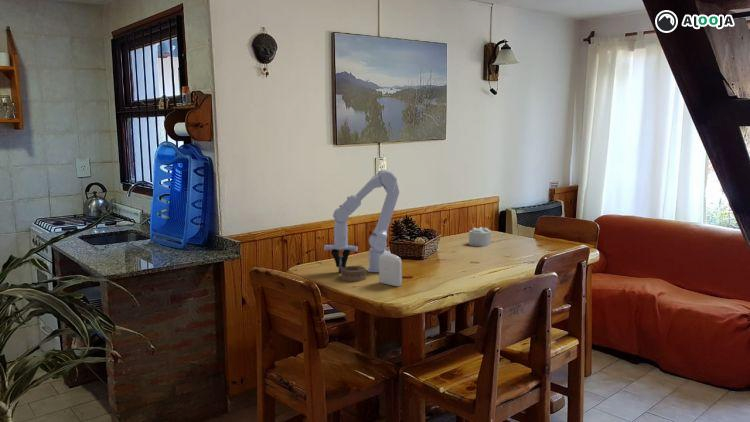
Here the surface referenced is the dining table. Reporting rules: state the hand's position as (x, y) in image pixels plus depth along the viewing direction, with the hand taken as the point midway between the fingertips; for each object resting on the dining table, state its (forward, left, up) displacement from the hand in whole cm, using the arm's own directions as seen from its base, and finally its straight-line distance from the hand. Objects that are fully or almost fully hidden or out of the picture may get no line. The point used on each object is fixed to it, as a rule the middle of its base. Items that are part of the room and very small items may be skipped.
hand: (341, 266), depth 254 cm
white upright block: (-24, +15, -3) cm, 28 cm away
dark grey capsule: (0, 0, -2) cm, 2 cm away
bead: (-8, +9, -2) cm, 12 cm away
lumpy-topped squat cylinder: (-60, -74, -3) cm, 95 cm away
